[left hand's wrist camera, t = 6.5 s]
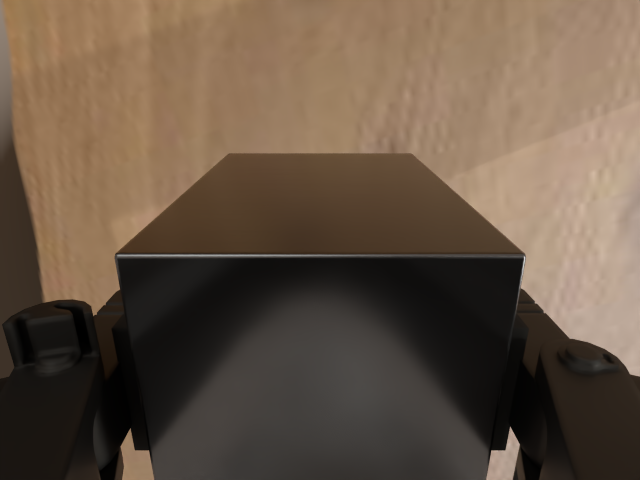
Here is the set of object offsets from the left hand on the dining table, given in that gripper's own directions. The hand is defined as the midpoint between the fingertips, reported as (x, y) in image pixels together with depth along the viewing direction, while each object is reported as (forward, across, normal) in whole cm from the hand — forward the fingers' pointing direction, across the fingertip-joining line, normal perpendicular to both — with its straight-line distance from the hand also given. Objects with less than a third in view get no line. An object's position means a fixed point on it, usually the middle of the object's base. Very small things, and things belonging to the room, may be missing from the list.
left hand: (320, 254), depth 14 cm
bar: (+1, 0, -10) cm, 10 cm away
